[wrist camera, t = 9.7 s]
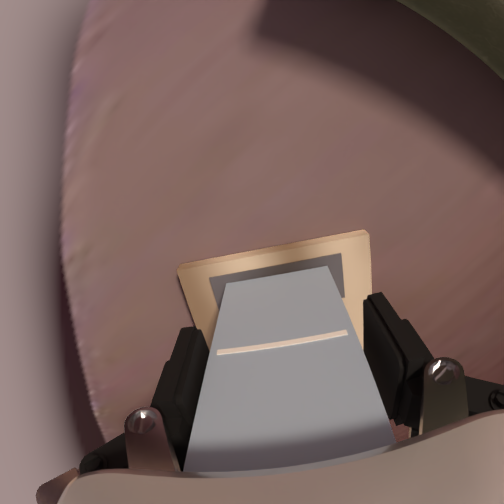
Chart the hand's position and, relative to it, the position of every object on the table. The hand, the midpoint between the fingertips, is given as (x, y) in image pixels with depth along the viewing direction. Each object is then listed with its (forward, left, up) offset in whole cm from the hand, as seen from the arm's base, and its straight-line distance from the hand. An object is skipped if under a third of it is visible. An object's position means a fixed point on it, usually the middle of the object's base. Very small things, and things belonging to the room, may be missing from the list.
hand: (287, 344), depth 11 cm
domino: (0, 0, -5) cm, 5 cm away
